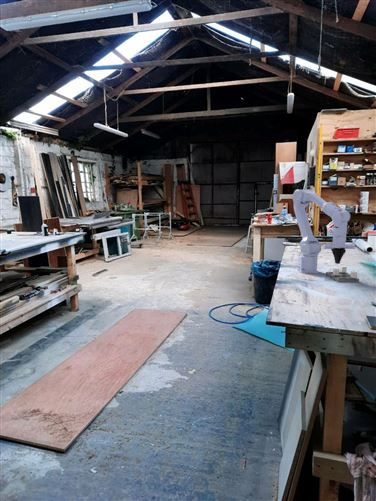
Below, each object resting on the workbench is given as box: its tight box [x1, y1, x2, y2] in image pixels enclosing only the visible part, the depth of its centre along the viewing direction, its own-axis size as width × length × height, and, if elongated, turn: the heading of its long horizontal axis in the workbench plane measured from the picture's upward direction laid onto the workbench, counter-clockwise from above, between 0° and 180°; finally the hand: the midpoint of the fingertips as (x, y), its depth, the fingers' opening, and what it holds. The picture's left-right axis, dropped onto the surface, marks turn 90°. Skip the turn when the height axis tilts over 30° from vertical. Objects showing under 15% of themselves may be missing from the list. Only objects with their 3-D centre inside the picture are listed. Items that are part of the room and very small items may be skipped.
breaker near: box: [350, 270, 358, 278], centre depth 152 cm, size 2×2×3 cm
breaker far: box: [339, 265, 348, 272], centre depth 163 cm, size 2×2×3 cm
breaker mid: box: [332, 267, 340, 275], centre depth 157 cm, size 2×2×3 cm
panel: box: [325, 271, 360, 283], centre depth 158 cm, size 10×14×1 cm
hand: (337, 263), depth 157 cm, fingers closed
